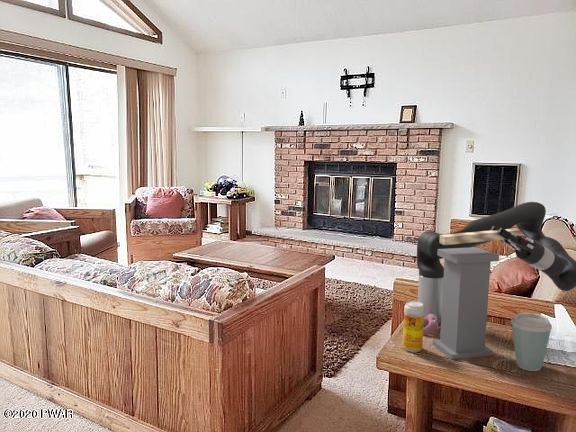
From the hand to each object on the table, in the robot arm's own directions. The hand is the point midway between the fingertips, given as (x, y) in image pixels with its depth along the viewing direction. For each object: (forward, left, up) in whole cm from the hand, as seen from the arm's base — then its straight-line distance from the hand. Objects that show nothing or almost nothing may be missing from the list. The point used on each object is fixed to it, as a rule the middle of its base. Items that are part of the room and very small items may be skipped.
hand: (496, 229), depth 144 cm
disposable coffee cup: (+11, +10, -39) cm, 41 cm away
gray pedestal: (+5, -8, -39) cm, 40 cm away
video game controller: (-8, -19, -39) cm, 44 cm away
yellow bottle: (+9, -23, -39) cm, 46 cm away
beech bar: (+3, -5, -3) cm, 6 cm away
